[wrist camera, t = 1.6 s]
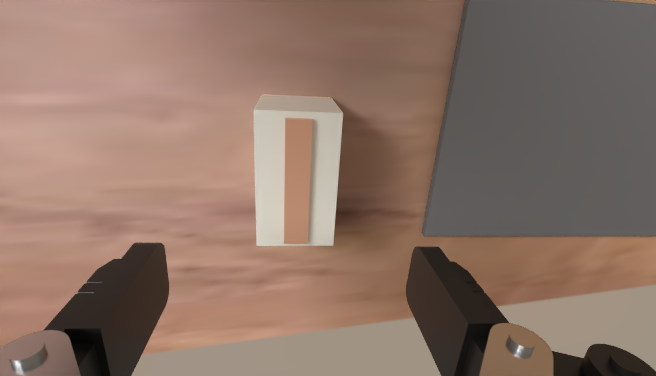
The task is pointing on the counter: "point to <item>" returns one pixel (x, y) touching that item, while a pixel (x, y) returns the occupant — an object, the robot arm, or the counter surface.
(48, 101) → the counter surface
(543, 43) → the rubber mat
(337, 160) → the block
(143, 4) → the counter surface
